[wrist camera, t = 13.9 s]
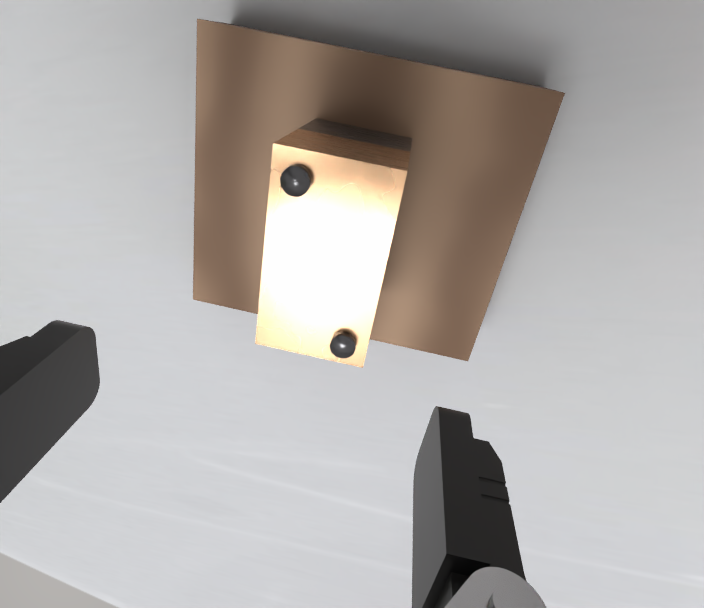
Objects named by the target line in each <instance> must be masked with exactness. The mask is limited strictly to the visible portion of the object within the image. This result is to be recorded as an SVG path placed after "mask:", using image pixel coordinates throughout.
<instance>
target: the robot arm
mask: <svg viewBox="0 0 704 608" xmlns="http://www.w3.org/2000/svg"><path fill="white" fill-rule="evenodd" d="M99 384H100V377H99V367H98V357H97V347H96V337H95V333H94V331H93V329H92V328H90V327H86V326H82V325H77V324H73V323H68V322H64V321H59V320H56V321H52V322H51V323H49V324H48V325H46V326H45V327H44V328H42V329H41V330H39V331H38V332H37V333H35V334H34V335H33V336H31V337H28V336H25V337H23V338H20V339H18V340H15V341H13V342H10V343H8V344H5V345H3V346H0V503H1V502H2V500H3V499H4V498H5V497H6V496H7V495H8V494H9V493H10V492H11V491H12V490H13V489H14V488H15V487H16V485H17V484H18V483H19V482H20V481H21V480H22V479H23V478H24V477H25V476H26V475H27V474H28V473H29V471H30V470H31V469H32V468H33V467H34V466H35V465H36V464H37V463H38V462H39V461H40V460H41V459H42V457H43V456H44V455H45V454H46V453H47V452H48V451H49V450H50V449H51V448H52V447H53V446H54V445H55V443H56V442H57V441H58V440H59V439H60V438H61V437H62V436H63V435H64V434H65V433H66V432H67V431H68V429H69V428H70V427H71V426H72V425H73V424H74V423H75V422H76V421H77V420H78V419H79V418H80V417H81V415H82V414H83V413H84V412H85V411H86V410H87V409H88V408H89V407H90V406H91V404H92V403H93V401H94V399H95V397H96V395H97V392H98V389H99ZM505 483H506V481H505V476H504V472H503V467H502V462H501V460H500V459H499V457H498V456H497V454H496V452H495V451H494V449H493V448H492V446H491V445H490V443H489V442H487V441H483V440H479V439H474V438H473V433H472V426H471V419H470V415H469V414H468V413H464V412H460V411H455V410H451V409H447V408H442V407H438V406H436V407H435V408H434V410H433V413H432V415H431V418H430V421H429V424H428V427H427V430H426V433H425V436H424V438H423V441H422V444H421V447H420V450H419V453H418V456H417V460H416V465H415V472H414V488H413V567H412V608H546V606H545V604H544V602H543V600H542V599H541V597H540V596H539V594H538V593H537V592H536V591H535V590H534V588H533V587H532V586H531V585H530V584H529V583H528V582H527V581H526V578H525V575H524V571H523V566H522V561H521V556H520V551H519V546H518V541H517V536H516V531H515V526H514V521H513V516H512V511H511V506H510V505H509V496H508V491H507V487H505Z"/></svg>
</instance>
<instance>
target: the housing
mask: <svg viewBox="0 0 704 608" xmlns="http://www.w3.org/2000/svg"><path fill="white" fill-rule="evenodd" d="M412 139H413V138H410V137H405V136H400V135H396V134H391V133H386V132H381V131H376V130H371V129H366V128H361V127H357V126H352V125H347V124H342V123H337V122H332V121H327V120H322V119H317V118H316V119H314V120H312V121H310V122H309V123H307V124H305V125H304V126H302V127H300V128H298V129H297V130H295V131H293V132H291V133H290V134H288V135H286V136H285V137H283V138H281V139H279V140H278V141H276V142H274V143H273V149H272V160H271V172H270V183H269V194H268V206H267V217H266V228H265V239H264V251H263V262H262V273H261V285H260V296H259V307H258V318H257V330H256V341H255V344H260V345H264V346H269V347H273V348H278V349H282V350H286V351H291V352H295V353H300V354H304V355H309V356H313V357H318V358H322V359H326V360H331V361H335V362H340V363H344V364H349V365H353V366H358V367H362V368H363V365H364V360H365V356H366V352H367V347H368V343H369V338H370V334H371V330H372V325H373V321H374V316H375V312H376V308H377V303H378V299H379V294H380V290H381V286H382V281H383V277H384V272H385V268H386V264H387V259H388V255H389V250H390V246H391V242H392V237H393V233H394V228H395V224H396V220H397V215H398V211H399V206H400V202H401V198H402V193H403V189H404V184H405V180H406V176H407V171H408V165H409V158H410V152H411V145H412Z"/></svg>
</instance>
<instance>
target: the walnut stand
mask: <svg viewBox="0 0 704 608" xmlns="http://www.w3.org/2000/svg"><path fill="white" fill-rule="evenodd" d="M564 94H565V93H563V92H559V91H556V90H552V89H548V88H544V87H540V86H535V85H530V84H525V83H520V82H515V81H510V80H505V79H500V78H495V77H490V76H485V75H480V74H475V73H470V72H465V71H460V70H455V69H450V68H446V67H441V66H436V65H431V64H426V63H421V62H416V61H411V60H406V59H401V58H396V57H391V56H386V55H381V54H376V53H371V52H366V51H361V50H356V49H351V48H346V47H341V46H336V45H331V44H327V43H322V42H317V41H312V40H307V39H302V38H297V37H292V36H287V35H282V34H277V33H272V32H267V31H262V30H257V29H252V28H247V27H242V26H237V25H232V24H226V23H220V22H214V21H208V20H201V19H197V65H196V134H195V203H194V272H193V300H198V301H202V302H207V303H211V304H216V305H220V306H225V307H229V308H233V309H238V310H242V311H247V312H251V313H256V314H258V307H259V296H260V285H261V273H262V262H263V251H264V239H265V228H266V217H267V206H268V194H269V183H270V172H271V160H272V149H273V143H274V142H276V141H278V140H279V139H281V138H283V137H285V136H286V135H288V134H290V133H291V132H293V131H295V130H297V129H298V128H300V127H302V126H304V125H305V124H307V123H309V122H310V121H312V120H314V119H316V118H317V119H322V120H327V121H332V122H337V123H342V124H347V125H352V126H357V127H361V128H366V129H371V130H376V131H381V132H386V133H391V134H396V135H400V136H405V137H410V138H413V139H412V145H411V152H410V158H409V165H408V171H407V176H406V180H405V184H404V189H403V193H402V198H401V202H400V206H399V211H398V215H397V220H396V224H395V228H394V233H393V237H392V242H391V246H390V250H389V255H388V259H387V264H386V268H385V272H384V277H383V281H382V286H381V290H380V294H379V299H378V303H377V308H376V312H375V316H374V321H373V325H372V330H371V334H370V338H369V339H371V340H376V341H380V342H385V343H389V344H394V345H398V346H403V347H407V348H412V349H416V350H420V351H425V352H429V353H434V354H438V355H443V356H447V357H452V358H456V359H460V360H465V361H468V360H469V357H470V354H471V351H472V349H473V346H474V343H475V340H476V338H477V335H478V332H479V329H480V326H481V324H482V321H483V318H484V315H485V313H486V310H487V307H488V304H489V302H490V299H491V296H492V293H493V290H494V288H495V285H496V282H497V279H498V277H499V274H500V271H501V268H502V266H503V263H504V260H505V257H506V255H507V252H508V249H509V246H510V243H511V241H512V238H513V235H514V232H515V230H516V227H517V224H518V221H519V219H520V216H521V213H522V210H523V207H524V205H525V202H526V199H527V196H528V194H529V191H530V188H531V185H532V183H533V180H534V177H535V174H536V171H537V169H538V166H539V163H540V160H541V158H542V155H543V152H544V149H545V147H546V144H547V141H548V138H549V135H550V133H551V130H552V127H553V124H554V122H555V119H556V116H557V113H558V111H559V108H560V105H561V102H562V100H563V97H564Z"/></svg>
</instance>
